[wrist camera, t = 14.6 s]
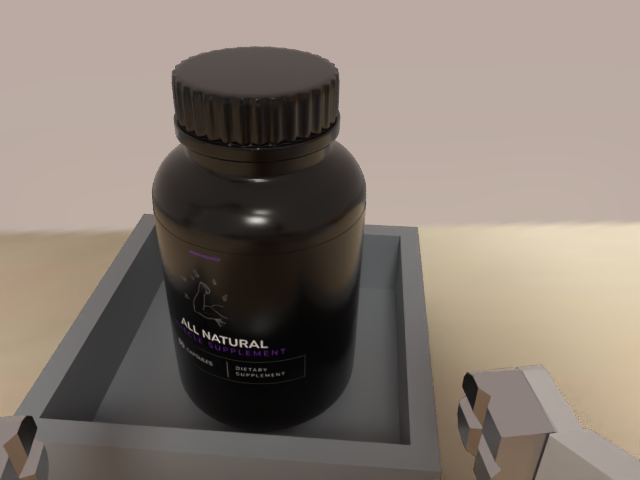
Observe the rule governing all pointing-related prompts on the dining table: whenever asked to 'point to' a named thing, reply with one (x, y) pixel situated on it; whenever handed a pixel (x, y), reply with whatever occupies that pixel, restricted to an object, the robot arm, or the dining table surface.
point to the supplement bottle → (260, 236)
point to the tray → (215, 437)
